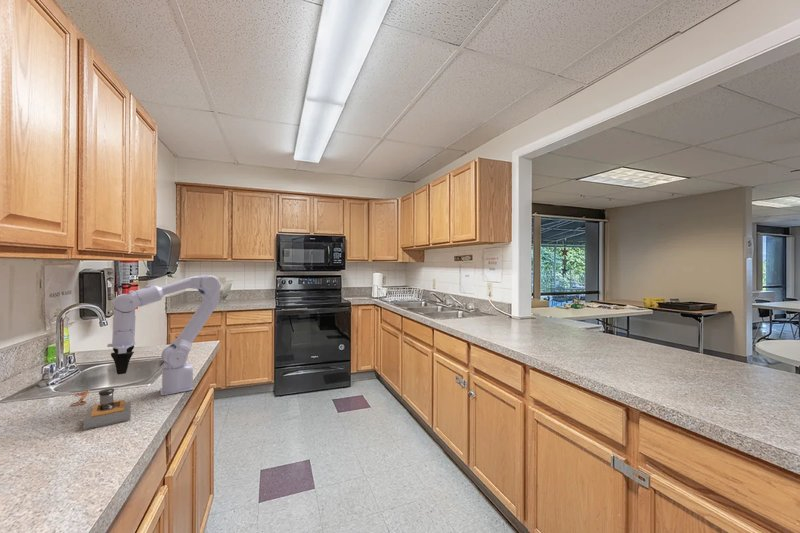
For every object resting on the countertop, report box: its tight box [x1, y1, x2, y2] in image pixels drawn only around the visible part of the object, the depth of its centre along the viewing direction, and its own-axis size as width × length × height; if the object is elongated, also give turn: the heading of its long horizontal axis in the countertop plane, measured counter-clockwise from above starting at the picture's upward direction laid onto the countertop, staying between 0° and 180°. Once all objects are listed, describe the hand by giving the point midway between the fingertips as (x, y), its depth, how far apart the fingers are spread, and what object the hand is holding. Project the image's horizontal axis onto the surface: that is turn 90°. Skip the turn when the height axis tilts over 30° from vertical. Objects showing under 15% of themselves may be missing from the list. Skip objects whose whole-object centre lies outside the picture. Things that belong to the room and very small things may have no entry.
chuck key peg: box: [98, 388, 115, 411], centre depth 97 cm, size 3×3×6 cm
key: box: [69, 389, 90, 407], centre depth 112 cm, size 6×1×15 cm
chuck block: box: [83, 399, 132, 431], centre depth 97 cm, size 10×8×4 cm
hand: (122, 370), depth 109 cm, fingers open, 7 cm apart
